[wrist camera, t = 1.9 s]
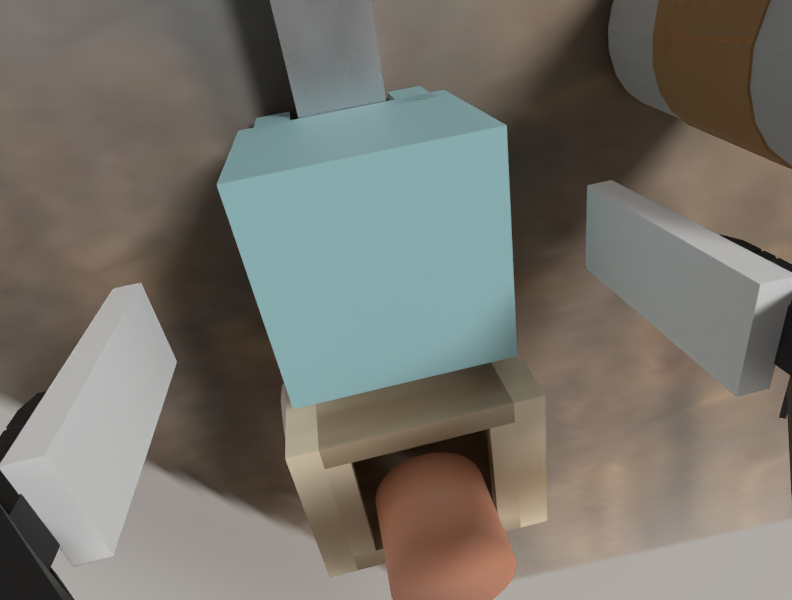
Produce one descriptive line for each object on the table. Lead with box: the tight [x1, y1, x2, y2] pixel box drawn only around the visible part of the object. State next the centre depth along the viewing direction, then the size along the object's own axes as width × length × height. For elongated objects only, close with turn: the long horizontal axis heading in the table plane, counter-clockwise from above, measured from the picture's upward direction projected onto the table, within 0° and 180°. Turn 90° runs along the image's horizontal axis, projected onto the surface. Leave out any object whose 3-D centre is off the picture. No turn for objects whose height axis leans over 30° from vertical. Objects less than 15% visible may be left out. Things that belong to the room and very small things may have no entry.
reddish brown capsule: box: [375, 452, 516, 600], centre depth 16 cm, size 4×4×3 cm
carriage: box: [217, 86, 517, 409], centre depth 18 cm, size 7×7×8 cm
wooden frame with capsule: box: [281, 352, 547, 577], centre depth 21 cm, size 6×8×9 cm
